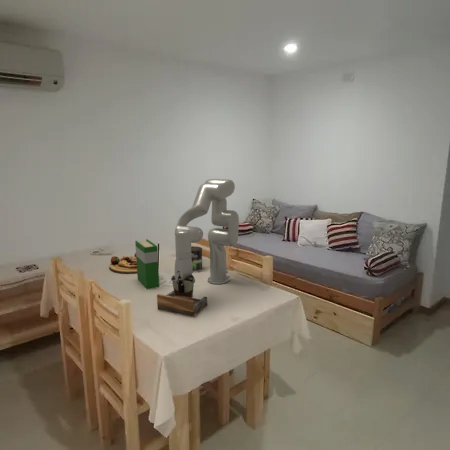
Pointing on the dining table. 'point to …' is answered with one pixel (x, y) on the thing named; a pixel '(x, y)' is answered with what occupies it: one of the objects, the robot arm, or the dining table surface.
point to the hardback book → (147, 264)
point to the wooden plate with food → (124, 264)
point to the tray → (180, 304)
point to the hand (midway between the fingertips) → (184, 289)
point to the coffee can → (196, 259)
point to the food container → (187, 286)
